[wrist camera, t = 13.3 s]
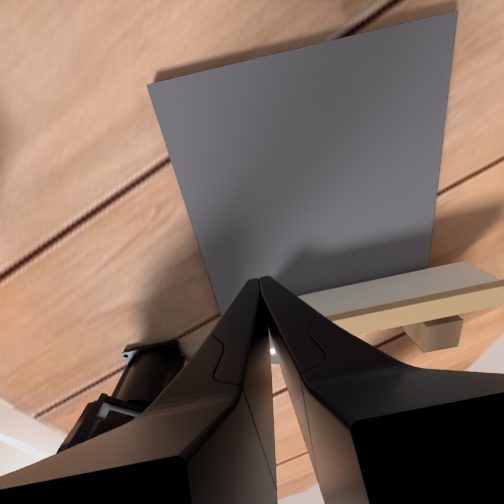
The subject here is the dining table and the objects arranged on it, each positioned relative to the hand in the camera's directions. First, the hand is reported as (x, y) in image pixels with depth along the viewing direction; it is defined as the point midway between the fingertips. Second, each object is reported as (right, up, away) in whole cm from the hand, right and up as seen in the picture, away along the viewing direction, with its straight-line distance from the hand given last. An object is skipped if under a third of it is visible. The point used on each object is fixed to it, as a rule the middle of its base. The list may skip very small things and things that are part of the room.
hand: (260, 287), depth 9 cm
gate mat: (+5, +5, +12) cm, 14 cm away
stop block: (+16, -3, +17) cm, 23 cm away
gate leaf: (+12, -2, +14) cm, 18 cm away
